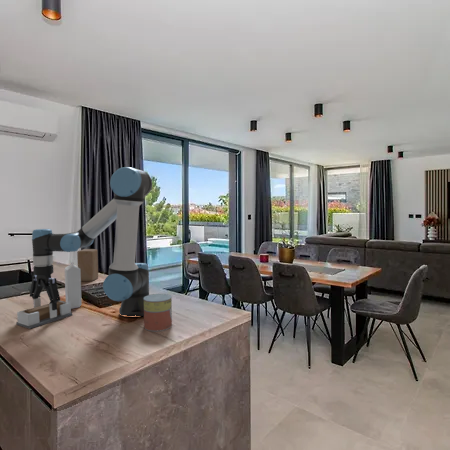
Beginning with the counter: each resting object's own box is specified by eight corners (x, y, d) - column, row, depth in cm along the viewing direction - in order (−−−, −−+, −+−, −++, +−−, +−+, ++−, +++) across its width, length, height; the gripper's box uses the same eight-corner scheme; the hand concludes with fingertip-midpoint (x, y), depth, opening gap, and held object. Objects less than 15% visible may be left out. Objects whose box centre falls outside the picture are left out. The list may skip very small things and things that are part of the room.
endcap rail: (72, 315, 150) (72, 303, 149) (30, 328, 133) (29, 315, 133) (58, 311, 155) (58, 300, 154) (16, 324, 138) (15, 311, 138)
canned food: (173, 329, 132) (173, 299, 131) (144, 332, 129) (144, 302, 128) (170, 320, 143) (169, 292, 142) (143, 323, 140) (142, 294, 139)
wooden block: (92, 281, 216) (91, 251, 215) (77, 281, 216) (76, 251, 215) (98, 278, 226) (97, 248, 225) (84, 278, 226) (83, 249, 225)
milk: (68, 309, 158) (66, 263, 157) (65, 306, 163) (63, 261, 162) (82, 306, 162) (80, 262, 161) (78, 303, 167) (77, 260, 165)
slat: (63, 313, 150) (63, 302, 149) (29, 323, 137) (29, 311, 136) (58, 312, 151) (58, 301, 151) (25, 322, 138) (24, 310, 138)
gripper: (68, 265, 140) (70, 317, 141) (36, 261, 152) (38, 308, 153) (51, 268, 134) (53, 322, 135) (19, 264, 145) (21, 313, 147)
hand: (45, 315), depth 144 cm, fingers open, 11 cm apart
